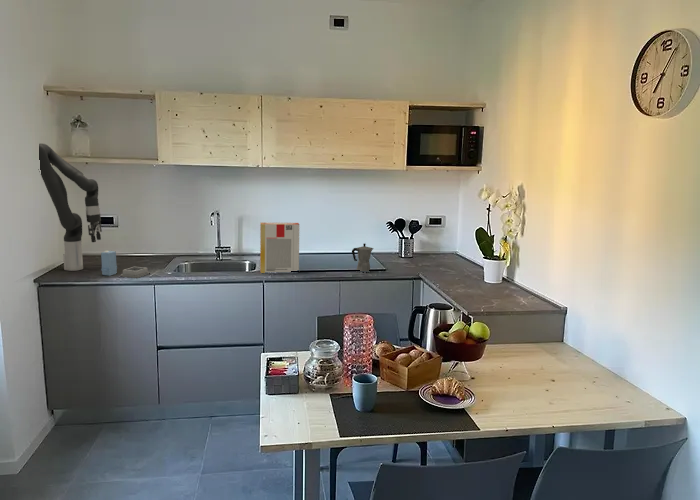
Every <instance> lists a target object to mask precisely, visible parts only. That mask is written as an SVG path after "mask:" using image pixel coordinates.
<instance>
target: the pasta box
mask: <svg viewBox="0 0 700 500" xmlns="http://www.w3.org/2000/svg"><path fill="white" fill-rule="evenodd" d="M259 226H260V237H259V238H260V247H259V248H260V250H259V251H260V254H259V255H260V256H259V257H260V261H259V262H260V263H259V265H260V266H259V267H260V268H259V269H260V271H259V272H261V273H265V272H291V271H297V270H299V271H300V223H299V222H260V225H259ZM261 273H260V274H261Z"/></svg>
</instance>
